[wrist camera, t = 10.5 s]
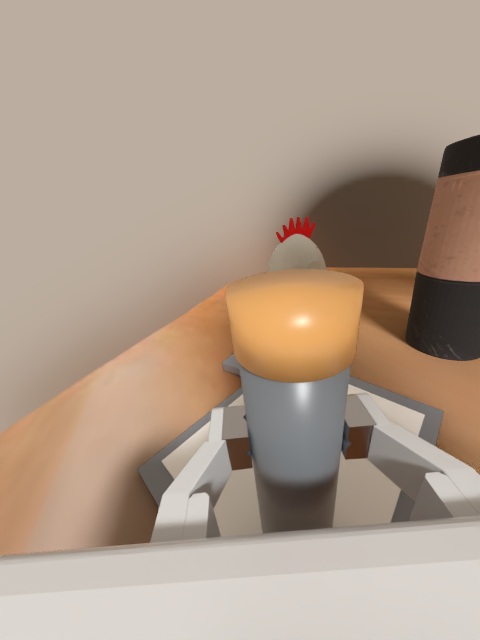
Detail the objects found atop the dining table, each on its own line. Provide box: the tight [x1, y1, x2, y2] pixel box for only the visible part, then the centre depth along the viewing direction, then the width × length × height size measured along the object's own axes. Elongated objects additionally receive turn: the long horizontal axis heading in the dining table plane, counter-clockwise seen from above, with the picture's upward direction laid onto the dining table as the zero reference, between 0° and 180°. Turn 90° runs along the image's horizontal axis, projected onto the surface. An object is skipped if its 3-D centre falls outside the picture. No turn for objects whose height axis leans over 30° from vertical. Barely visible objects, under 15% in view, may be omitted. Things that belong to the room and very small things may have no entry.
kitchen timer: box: [267, 217, 327, 272], centre depth 49 cm, size 14×14×15 cm
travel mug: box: [406, 135, 480, 361], centre depth 23 cm, size 8×8×20 cm
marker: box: [225, 269, 364, 533], centre depth 9 cm, size 4×4×13 cm
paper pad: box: [137, 376, 444, 537], centre depth 17 cm, size 19×15×1 cm
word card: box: [222, 353, 240, 376], centre depth 28 cm, size 8×5×1 cm, turn 145°
